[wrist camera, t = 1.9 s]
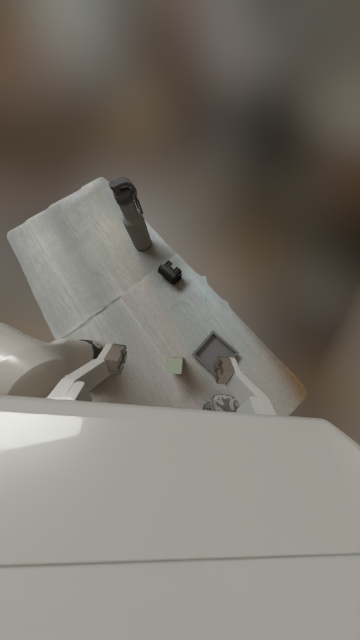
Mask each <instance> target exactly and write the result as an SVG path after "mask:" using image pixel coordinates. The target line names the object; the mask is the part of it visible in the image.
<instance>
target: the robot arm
mask: <svg viewBox="0 0 360 640" xmlns="http://www.w3.org/2000/svg"><path fill="white" fill-rule="evenodd" d="M126 349H127V347H126V345H119V344H114V343H113V342H111V341H109V340H102V341H90V340H73V339H64V338H62V339H57V340H55V341H53V342H51V343H45V342H42V341H40V340H37V339H34V338H32V337H30V336H27V335H26V334H24V333H22V332H20V331H18V330H17V329H15V328H13V327H11V326H9V325H6V324H3V323H0V640H360V446H359V445H358V444H357V443H356V442H355V441H353V440H352V439H351V438H350V437H348V436H347V435H346V434H344V433H343V432H342V431H341V430H339V429H338V428H337V427H335V426H334V425H333V424H331V423H330V422H328V421H326V420H324V419H319V418H306V417H292V416H279V415H276V413H275V411H274V409H273V407H272V405H271V403H270V401H269V399H268V397H267V396H266V395H265V394H263V393H262V392H261V391H260V390H259V389H258V388H257V387H256V386H255V385H254V384H253V383H252V382H251V381H250V380H249V379H248V378H247V377H246V376H245V375H244V374H242V373H241V371H240V368H239V366H238V364H237V361H236V359H235V358H232V357H224V356H218V357H217V358H216V359H217V361H215V362H214V365H213V369H214V372H215V373H216V376H215V378H216V382H217V384H225V385H226V386H227V387H228V389H229V390H230V392H231V393H232V394H233V396H234V397H235V398H236V400H237V401H238V402H239V404H240V405H241V406H240V407H239V408H237V410H236V411H237V412H226V411H212V410H199V409H186V408H172V407H159V406H145V405H132V404H118V403H105V402H91V401H92V397H91V395H90V393H89V392H90V391H91V390H92V389H93V388H95V387H96V386H97V385H98V384H99V383H100V382H102V381H103V380H105V379H106V378H107V377H109V376H110V375H112V374H121V371H122V369H123V364H124V363H125V361H126V358H127V351H126ZM65 375H67V376H66V377H65ZM48 395H49V396H48ZM46 396H48V397H47V398H45V397H46Z"/></svg>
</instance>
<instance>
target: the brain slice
mask: <svg viewBox="0 0 360 640" xmlns="http://www.w3.org/2000/svg"><path fill="white" fill-rule="evenodd" d="M213 403H214V404H213ZM213 403H211V402H208V403H207V404H205V405H204V408H203V410H212V411H226V412H237V411H236V410H237V408H239V407H240V406H241V405H240V404H239V402H238V401H237V400H236V398H235V397H231V396H228V395H223V394H221V395H216V396H214V397H213Z"/></svg>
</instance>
